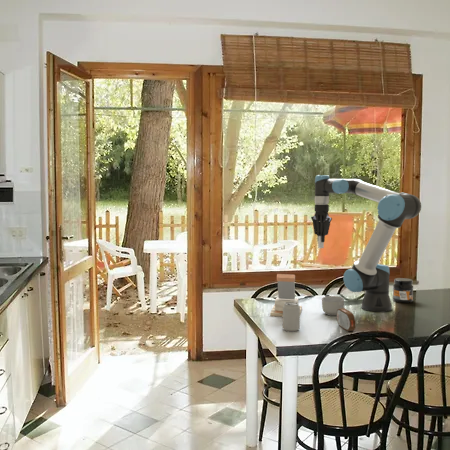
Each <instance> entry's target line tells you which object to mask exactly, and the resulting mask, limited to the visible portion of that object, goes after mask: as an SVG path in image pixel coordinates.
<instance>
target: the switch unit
mask: <svg viewBox="0 0 450 450" xmlns="http://www.w3.org/2000/svg"><path fill="white" fill-rule="evenodd" d="M286 302H296V303H298V304H299V298H298V297H297V298H296V297H295V299H279V298H278V296H277V297H276V298H275V299H274V305H273V307H272V308H271V311H270V312H269V313H270V315H269V316H271V317H282V318H283V306H284V305H285V304H284V303H286ZM299 306H300V315H301V313H302V309H303V306H302V305H299Z"/></svg>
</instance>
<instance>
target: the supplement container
mask: <svg viewBox="0 0 450 450" xmlns="http://www.w3.org/2000/svg"><path fill="white" fill-rule="evenodd" d="M393 282H394V283H393V285H392V287H393V288H392V300H393V301H394V302H395V301H396V303H399V302H402V303H401V304H409V302H410V303H412V302H413V300H414V299H413V298H414V285H413V282H414V281H413V279H412V278H407V277H404V278H403V277H397V278H396V277H395V278H394V281H393Z"/></svg>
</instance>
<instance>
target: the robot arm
mask: <svg viewBox="0 0 450 450" xmlns="http://www.w3.org/2000/svg"><path fill="white" fill-rule="evenodd" d="M330 194H337V195H340V194H341V195H342V194H353V195H355V196H359V197H362V198H365V199H368V200H370V201H373V202H376V203H377V214H378V215H377V218H378V222H377V224H376V226H375V228H374V230H373V231H372V233H371V236H370V238H369V240H368V242H367V244H366V245H365V248H364V250H363V252H362V254H361V256H360V258H359V260H358V259H357V260H355V261H354V263H353V265H352V267H351V268H348V269H346V270H345V271H344V273H343V277H342V278H343V283H344V286H345V287H346V288H347V290H348V291H350V292H352V293H361V292H364V295H363V298H362V301H361V305H360V306H361V309H362V310H366V311H369V312H375V313H377V312H378V313H379V312H381V313H382V312H391V311H392V309H393V305H392V304H393V303H392V302H391V301H392V300H391V298H390V274H391V273H390V266H388V265H386V264H380V263H379V262H380V260H381V259H382V256H383V255H384V252H385V251H386V248H387V247H388V245H389V244H390V241H391V239H392V237H393V235H394V233H395V231H396V230H397V229H399V228H400V229H401V227H402V225H403V223H404V222H405V220H411V219H414V218H415V217H417V216H418V215H419V214H420V213H421V212H422V211H421V210H422V203H421V200H420V198H419V197H418V196H416V195H414V194H411V193H406V192H397V191H393V190H390V189H387V188H383V187H381V186H377V185H374V184H371V183H368V182H366V181H363V180H362V179H359V178H330V175H329V174H327V175H326V174H322V175H321V174H317V175H315V177H314V212H315V213H314V214H313V216H311V217H310V219H311V220H312V226H313V232H314V235H316V236H317V238H316V239H317V248H318V249H324V247H325V246H324V245H325V239H326V237H325V236H328V235H329V232H330V227H331V222H332V220H333V218H332V217H330V216H329V210H330V205H329V204H330Z"/></svg>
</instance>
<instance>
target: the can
mask: <svg viewBox="0 0 450 450" xmlns="http://www.w3.org/2000/svg"><path fill="white" fill-rule="evenodd" d="M284 304H285V305H284V306H283V317H282V329H283V330H284V331H285V332H290V333H291V332H292V333H293V332H298V330H300V326H301V325H300V323H301V322H300V321H301V314H300V306H301V305H299V302H298V303H296V302H286V303H284Z"/></svg>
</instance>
